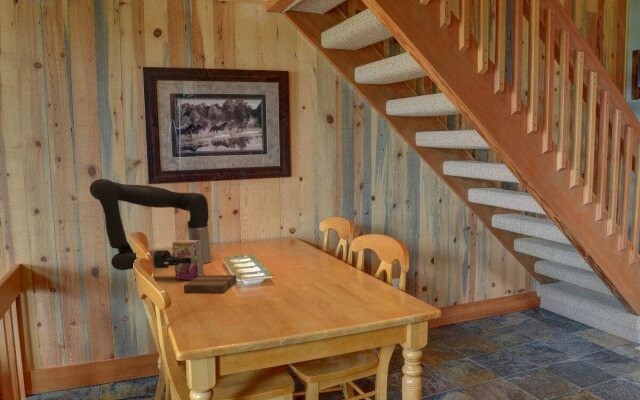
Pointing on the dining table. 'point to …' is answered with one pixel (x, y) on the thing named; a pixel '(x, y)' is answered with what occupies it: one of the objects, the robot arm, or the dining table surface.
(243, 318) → the dining table surface
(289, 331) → the dining table surface
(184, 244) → the candy bar box
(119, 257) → the robot arm
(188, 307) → the dining table surface
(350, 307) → the dining table surface
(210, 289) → the walnut base
